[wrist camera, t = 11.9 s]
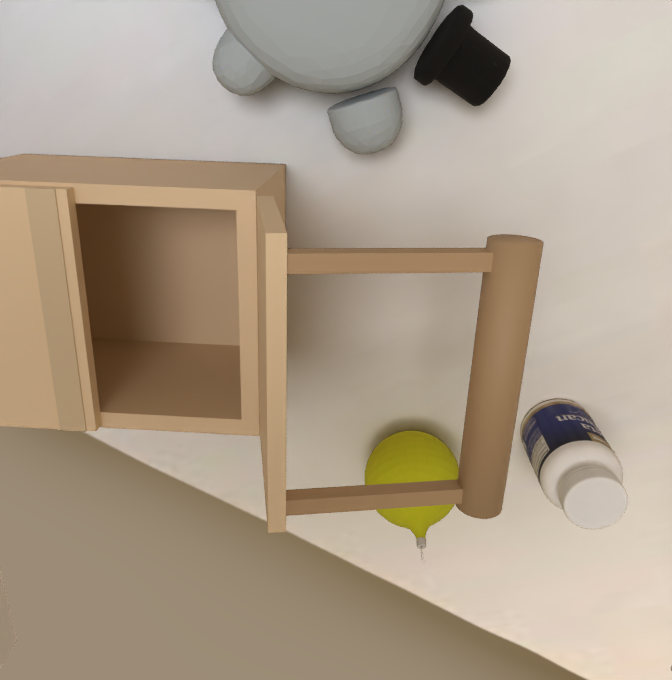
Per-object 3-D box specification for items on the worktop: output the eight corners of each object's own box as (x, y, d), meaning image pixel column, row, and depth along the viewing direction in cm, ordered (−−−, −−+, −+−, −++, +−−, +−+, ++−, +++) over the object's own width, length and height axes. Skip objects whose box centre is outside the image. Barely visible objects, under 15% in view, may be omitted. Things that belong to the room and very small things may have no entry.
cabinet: (51, 343, 48) (-54, 427, 36) (23, 153, 43) (-110, 178, 31) (284, 355, 48) (256, 443, 36) (285, 164, 43) (252, 193, 31)
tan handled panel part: (257, 195, 31) (472, 197, 33) (260, 435, 36) (446, 426, 38) (266, 236, 23) (555, 236, 24) (268, 541, 28) (508, 524, 30)
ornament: (409, 505, 52) (418, 595, 43) (346, 454, 51) (341, 536, 41) (473, 451, 50) (496, 534, 41) (408, 396, 49) (418, 469, 39)
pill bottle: (599, 402, 48) (652, 474, 39) (579, 461, 50) (625, 544, 41) (528, 392, 48) (565, 462, 39) (511, 452, 50) (543, 532, 41)
